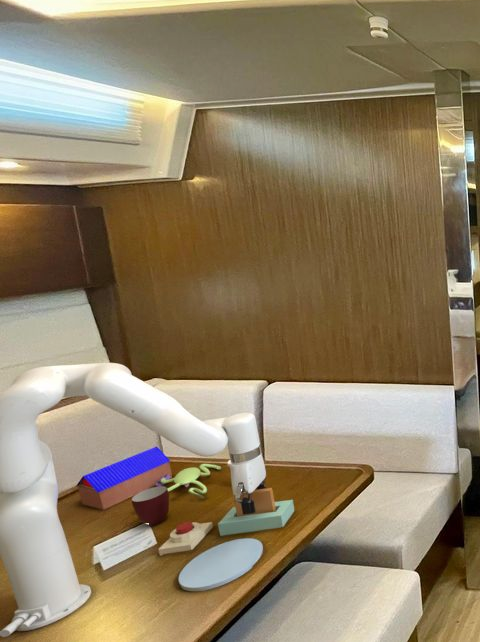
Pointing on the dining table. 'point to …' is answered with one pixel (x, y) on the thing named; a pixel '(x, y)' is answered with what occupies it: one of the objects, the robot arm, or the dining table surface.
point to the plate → (220, 564)
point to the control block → (185, 539)
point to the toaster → (256, 519)
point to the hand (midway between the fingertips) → (255, 505)
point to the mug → (152, 505)
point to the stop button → (184, 528)
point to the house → (123, 479)
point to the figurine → (188, 479)
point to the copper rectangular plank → (259, 502)
